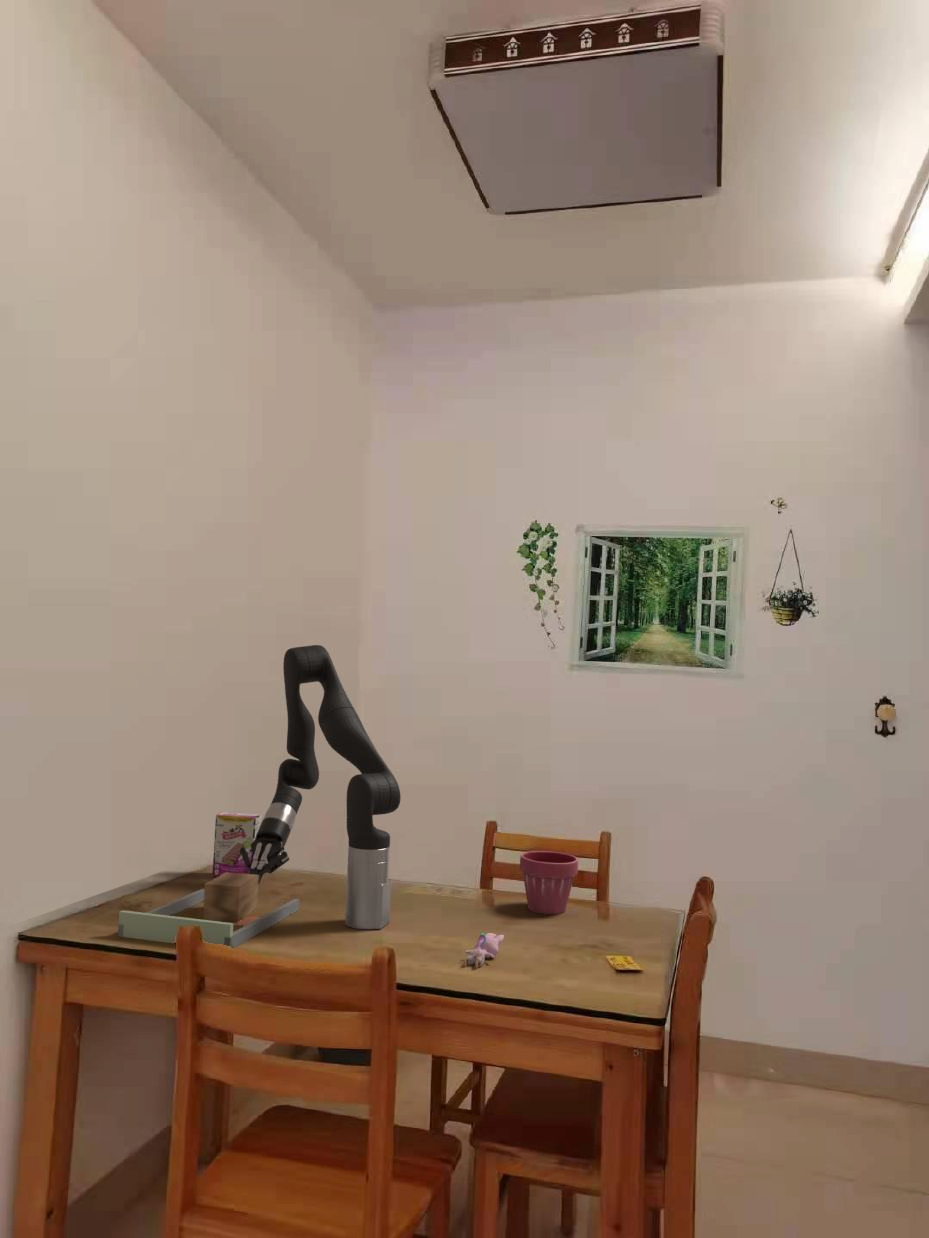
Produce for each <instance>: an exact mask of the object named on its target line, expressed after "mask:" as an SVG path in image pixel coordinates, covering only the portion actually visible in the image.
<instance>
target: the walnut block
mask: <svg viewBox="0 0 929 1238" xmlns="http://www.w3.org/2000/svg"><path fill="white" fill-rule="evenodd" d="M258 879H259V875H255V874H241V873H227V872H226V873H224V874H222V875H220V876H218V877H215V878H213V879H211V880H210V881H207V882H206V883H204V889H205V893H204V901H203V914H202V916H203V917H202V920H210V921H218V922H222V921H227V923H235V922H238V921H240V920H243V918H244V917H245V916H246V915H247V914H249V913H251V912H252V911H253V910H254V909H255V908H257V909H258V899H259V898H258V897H259V895H258V894H259V893H258V892H259V885H258ZM252 913H253V912H252ZM252 913H251V914H252ZM249 915H250V914H249ZM245 918H246V917H245ZM245 918H244V919H245Z"/></svg>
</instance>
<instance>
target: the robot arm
mask: <svg viewBox="0 0 929 1238" xmlns="http://www.w3.org/2000/svg"><path fill="white" fill-rule="evenodd" d="M282 665H283V666H282V668H283V681H284V694H285V701H286V702H285V703H286V711H287V731H286V732H287V733H286V752H287V754H288V755H290V756H291V757H293V758H286V759H284V760H283V761H282V762H281V763H280V765H279V768H278V774H277V777H278V778H277V784H276V790H275V792H274V796H273V798H272V800H271V803H270V805H269V807H268V808H267V810H266V812H265V814H264V817H263V819H262V820H261V825H260V827H259V830H258V832H257V834H256V838H255V840H254V842H252V844H251V846H250V847H248V848H246V849H245V848H244V847H243V848H241V849H240V852H241V855H242V857H243V860H244V863H245V865H246V867H247V869H248V871H249V872H250V873H249V874H255V875H259V879H258V886H259V885H260V883H261V880H262V878H263V876H264V875H265V874H272V873H274V872H275V871H276V870H277V869H279V868H280V867H282V866H284V864H286V863H287V862H289V861H290V857H289V854H288V853H287V851H285V846H286V845H287V844H286V843H287V841H288V839H289V837H290V834H291V832H292V829H293V827H294V823H295V820H296V817H297V814H298V811H299V810H300V807H301V806H302V805H301V804H302V801H303V795H302V793H301V792H300V791H299V790H297V789H303V790H307V791H308V790H309V791H310V790H312V789H314V788H315V787H316V786H317V784H318V782H319V779H320V769H319V768H320V767H319V764H318V761H317V757H316V752H315V736H316V724H315V719H314V718H313V715H312V714H311V712H310V710H308V708H307V706H306V705H305V702H304V700H303V699H302V696H301V693H300V690H301V689H300V688H301V684H308V683H309V684H310V683H316V682H318V683H320V685H321V687H322V690H323V697H322V701H321V703H320V707H319V709H318V716H317V719H318V725H319V728H320V730H321V732H322V734H323V736H324V738H325V740H326V743H328V744H327V745H329V746H330V748H331V749H332V750H334V751H335V752H336V753H337V754H338V755H340V756H341V757H342V758H344V759H345V760H346V761H348V762H349V763H350V764H351V765H352V766H354V767H355V768H356V769H357V770H358V771H359V772H360V773H359V774H355V775H354V776H352V777H351V779H350V780H349V782H348V785H347V789H346V832H347V836H348V847H347V867H346V868H347V873H346V892H345V895H346V896H345V913H344V916H345V919H344V923H345V925H346V927H349V928H352V929H357V930H358V929H359V930H374V929H376V930H382V929H383V928H384V927H385V926H387V925H388V924H389V923H390V922H391V920H390V919H391V914H390V913H391V897H392V880H391V879H390V878H389V875H390V874H389V873H390V853H391V851H390V849H391V835H390V833H388V832H387V831H385V830H382V829H379V828H378V827H376V826H375V825H374V820H373V816H378V815H387V814H388V815H389V814H390V813H394V812H395V811H397V809H399V806H400V803H401V790H400V786H399V783H398V781H397V779H396V778H395V775H394V774H393V772H392V771H391V769H390V768H389V767H388V765H387V764H386V762H385V761H384V759H383V758H382V756H381V755H380V754H379V752H378V751H377V749H376V747H375V745H374V744H373V742H372V740H371V737H370V736H369V735H368V733H367V731H366V729H365V726H364V725H363V723H362V721H361V719H360V716H359V715H358V713H357V711H356V709H355V708H354V706H353V704H352V702H351V701H350V699H349V697H348V695H347V693H346V691H345V689H344V687H343V685H342V682H341V680H340V678H339V675H338V673H337V670H336V668H335V665H334V662H333V660H332V658H331V655H330V653H329V652H328V650H327V649H326V648H325V646H323V645H319V644H313V645H303V646H296V647H290V648H288V649H287V650H286V652H285V653H284V655H283V664H282ZM296 788H297V789H296ZM251 852H252V853H253V856H254V857H253V862H252V864H251V862H250V859H249V857H250V856H251Z"/></svg>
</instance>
